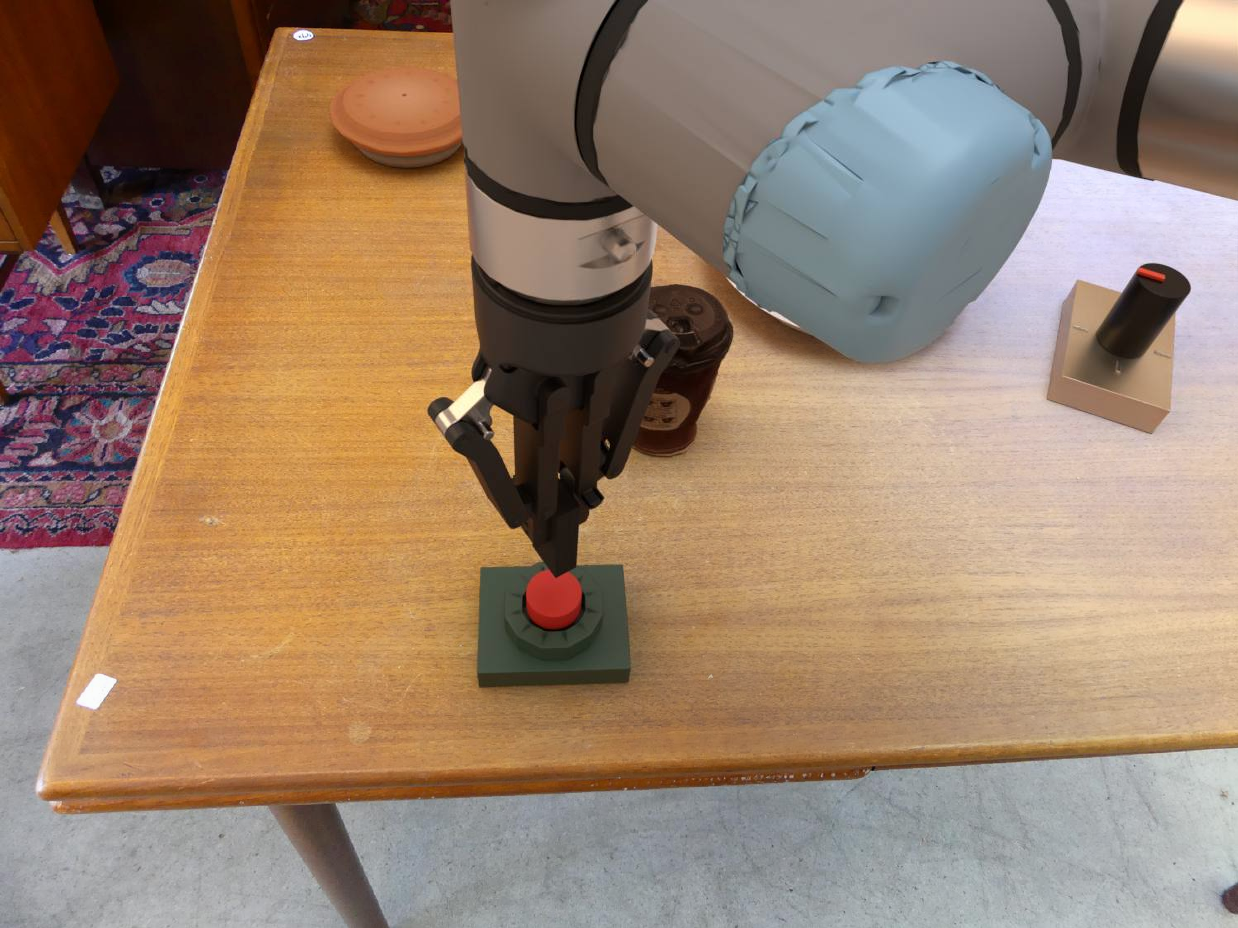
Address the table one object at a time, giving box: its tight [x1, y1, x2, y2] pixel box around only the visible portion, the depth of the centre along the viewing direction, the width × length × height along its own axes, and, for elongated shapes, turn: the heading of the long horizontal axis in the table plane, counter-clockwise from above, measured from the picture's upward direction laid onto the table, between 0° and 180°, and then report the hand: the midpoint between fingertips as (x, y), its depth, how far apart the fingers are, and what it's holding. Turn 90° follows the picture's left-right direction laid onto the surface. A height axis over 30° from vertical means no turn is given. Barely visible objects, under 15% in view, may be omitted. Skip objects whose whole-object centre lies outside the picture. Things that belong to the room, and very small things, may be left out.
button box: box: [476, 561, 632, 688], centre depth 62 cm, size 10×8×4 cm
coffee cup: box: [632, 283, 734, 457], centre depth 70 cm, size 9×8×13 cm
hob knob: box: [1097, 262, 1192, 358], centre depth 79 cm, size 4×4×7 cm
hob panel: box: [1046, 279, 1177, 434], centre depth 83 cm, size 14×9×3 cm, turn 157°
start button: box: [526, 569, 582, 630], centre depth 60 cm, size 4×4×2 cm
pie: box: [328, 66, 463, 169], centre depth 96 cm, size 16×16×5 cm
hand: (554, 556), depth 56 cm, fingers closed
